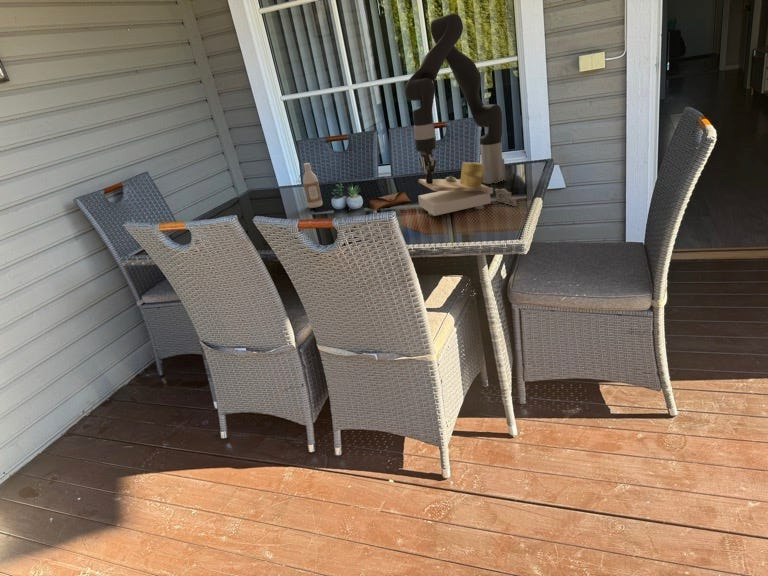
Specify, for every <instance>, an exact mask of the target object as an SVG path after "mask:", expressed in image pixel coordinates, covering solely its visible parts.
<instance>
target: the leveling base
mask: <svg viewBox="0 0 768 576" xmlns="http://www.w3.org/2000/svg"><path fill="white" fill-rule="evenodd" d="M492 194H494V188H493V187H489V188H488V189H487V191H433V192H429V193H425V194H420V195H418V196H417V197H418V204H419V205H418V206H420V207H421V208H422V209H424V210H425V211H427V213H428V215H427V216H433V217H436V216H441V215H444V214H448V213H449V214H450V213H453V212H457V211H461V210H466V209H472V208H474V210H476V209H481V210H484V209H485V205H488V204H492V201H491V200H492V199H491V198H492V197H491V195H492ZM483 208H484V209H483Z"/></svg>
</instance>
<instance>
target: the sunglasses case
mask: <svg viewBox="0 0 768 576" xmlns="http://www.w3.org/2000/svg"><path fill="white" fill-rule="evenodd" d="M367 202H368V203H367V205H368V208H369V209H372V210H373V209H374V211H378V210H382V209H381V208H383V209H385V208H386V207H387V208H391V207H394V205H395V206H399V205H402V203H403V204H407V203H410V202H412V200H411V199H410V198H409V197H408V195H407V194H406V192H405V191H400V192H397V193H393V194H388V195H385V196H384V195H383V196H380V197H374V198H370V199H369V200H368V201H367ZM406 202H407V203H406ZM398 204H399V205H398Z"/></svg>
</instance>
